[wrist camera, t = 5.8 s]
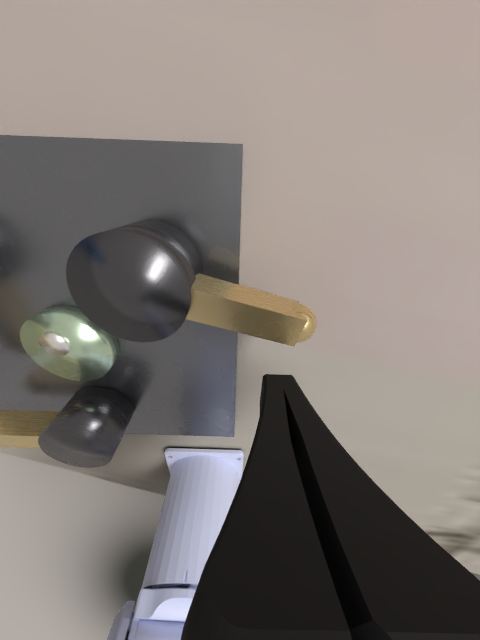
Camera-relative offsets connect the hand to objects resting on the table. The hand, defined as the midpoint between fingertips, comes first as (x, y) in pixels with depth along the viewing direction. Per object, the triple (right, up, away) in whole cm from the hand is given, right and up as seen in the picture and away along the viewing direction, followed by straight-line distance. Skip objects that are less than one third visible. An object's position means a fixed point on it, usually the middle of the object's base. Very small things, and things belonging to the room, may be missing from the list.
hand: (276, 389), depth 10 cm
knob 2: (-3, +5, +1) cm, 6 cm away
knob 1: (-15, -3, +6) cm, 17 cm away
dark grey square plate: (-12, +3, +4) cm, 13 cm away
